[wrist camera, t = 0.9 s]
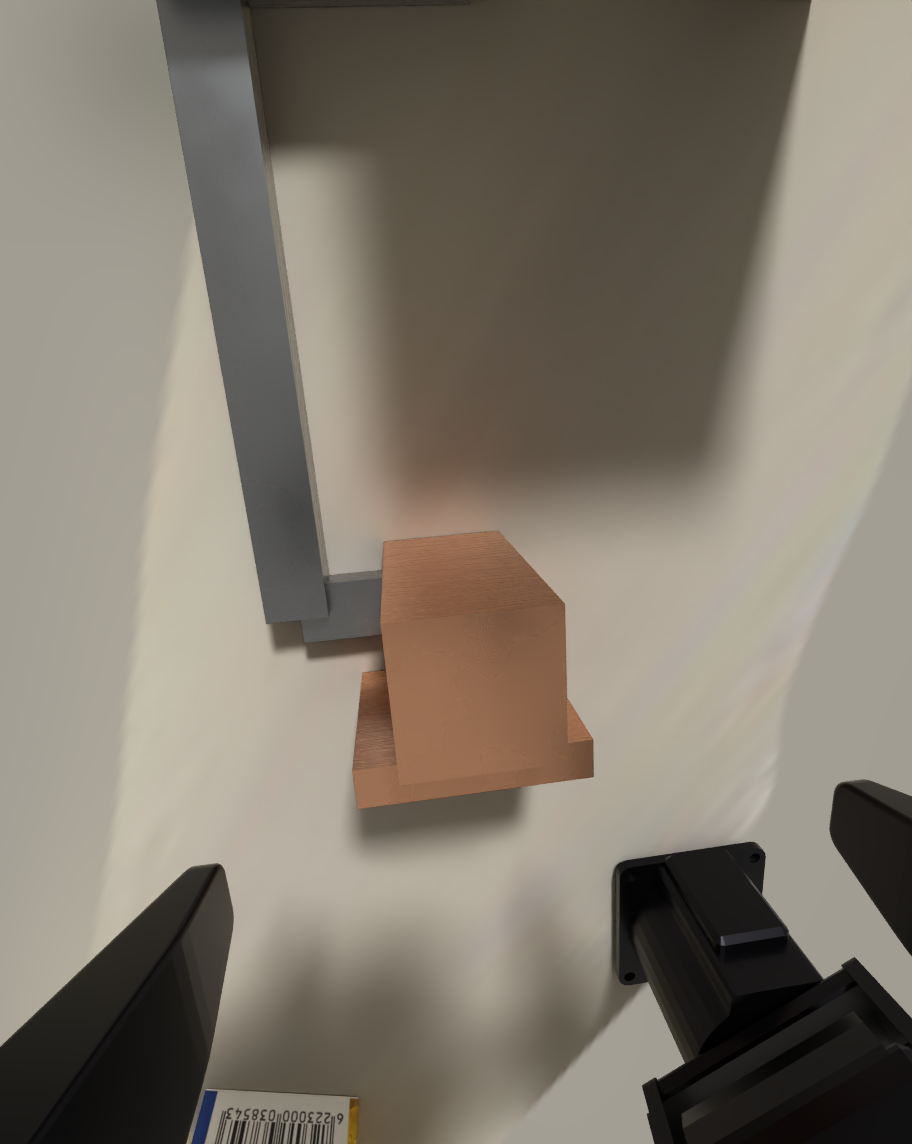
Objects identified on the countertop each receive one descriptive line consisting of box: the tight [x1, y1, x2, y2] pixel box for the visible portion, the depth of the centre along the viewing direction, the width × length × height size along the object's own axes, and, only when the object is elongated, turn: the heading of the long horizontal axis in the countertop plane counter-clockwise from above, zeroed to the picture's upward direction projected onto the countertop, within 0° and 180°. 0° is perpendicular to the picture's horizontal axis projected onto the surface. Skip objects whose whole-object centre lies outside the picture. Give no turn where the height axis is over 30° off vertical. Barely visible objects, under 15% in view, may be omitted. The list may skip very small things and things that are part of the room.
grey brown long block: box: [156, 0, 594, 809], centre depth 14 cm, size 23×9×8 cm, turn 4°
